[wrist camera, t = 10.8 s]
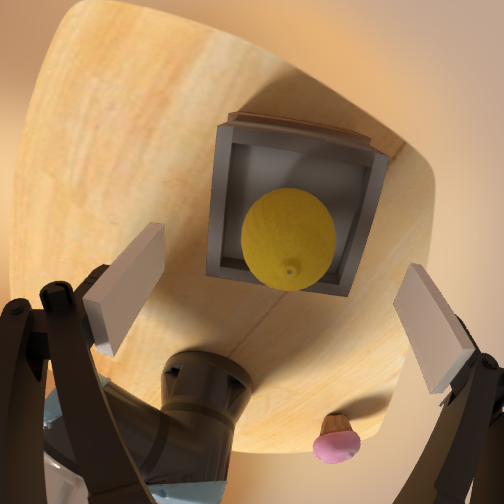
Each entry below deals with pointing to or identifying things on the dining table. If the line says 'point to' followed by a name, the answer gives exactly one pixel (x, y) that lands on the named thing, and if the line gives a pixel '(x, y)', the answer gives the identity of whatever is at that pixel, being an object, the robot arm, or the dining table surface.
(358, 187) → the grey storage bin
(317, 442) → the cupcake
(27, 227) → the dining table surface
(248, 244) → the lemon
